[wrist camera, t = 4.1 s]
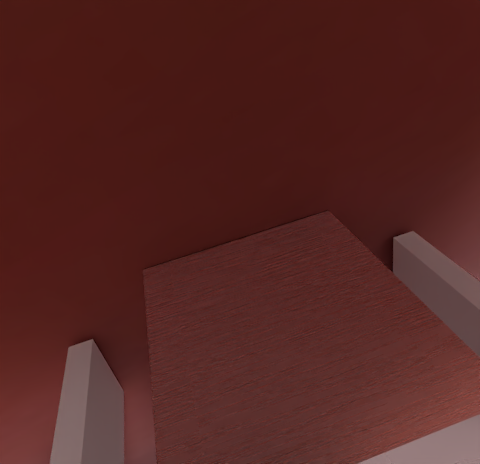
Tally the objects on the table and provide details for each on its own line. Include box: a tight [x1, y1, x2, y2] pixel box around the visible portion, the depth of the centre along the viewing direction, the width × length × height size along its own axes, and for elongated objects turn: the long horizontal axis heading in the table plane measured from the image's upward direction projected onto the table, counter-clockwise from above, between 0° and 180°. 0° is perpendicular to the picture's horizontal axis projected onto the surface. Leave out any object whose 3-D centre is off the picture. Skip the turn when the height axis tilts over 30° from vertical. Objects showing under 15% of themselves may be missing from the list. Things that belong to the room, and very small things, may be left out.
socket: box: [143, 210, 480, 464], centre depth 10 cm, size 6×6×7 cm
